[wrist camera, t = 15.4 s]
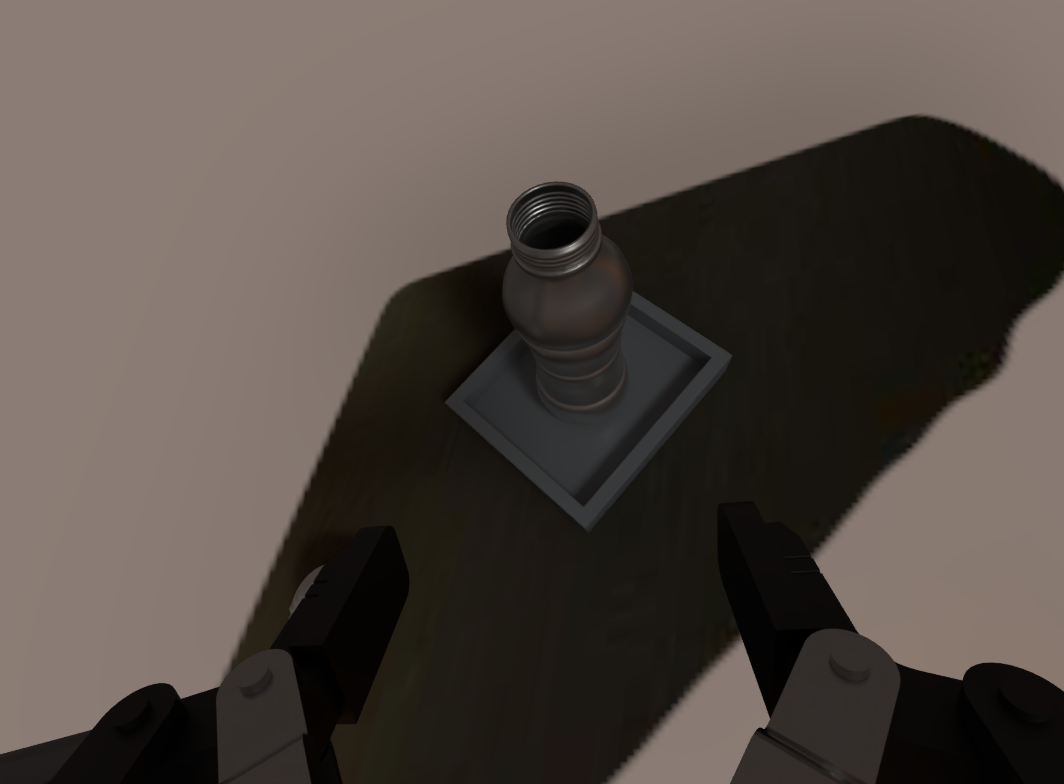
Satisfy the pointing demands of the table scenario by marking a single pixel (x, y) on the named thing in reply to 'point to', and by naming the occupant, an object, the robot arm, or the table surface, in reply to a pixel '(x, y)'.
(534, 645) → the table surface
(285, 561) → the table surface
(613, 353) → the plastic bottle
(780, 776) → the robot arm
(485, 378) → the tray
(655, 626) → the table surface
